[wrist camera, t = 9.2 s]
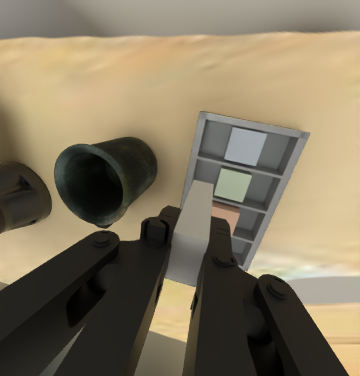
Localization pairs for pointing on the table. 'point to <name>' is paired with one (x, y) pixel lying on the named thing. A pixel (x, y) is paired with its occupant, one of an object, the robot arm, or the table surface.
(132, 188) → the mug
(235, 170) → the key sage
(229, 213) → the block
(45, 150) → the table surface
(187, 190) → the grey compartment rack
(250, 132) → the key slate
